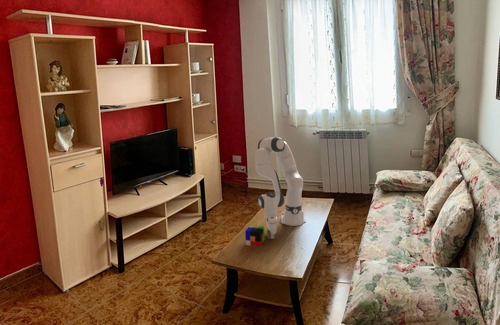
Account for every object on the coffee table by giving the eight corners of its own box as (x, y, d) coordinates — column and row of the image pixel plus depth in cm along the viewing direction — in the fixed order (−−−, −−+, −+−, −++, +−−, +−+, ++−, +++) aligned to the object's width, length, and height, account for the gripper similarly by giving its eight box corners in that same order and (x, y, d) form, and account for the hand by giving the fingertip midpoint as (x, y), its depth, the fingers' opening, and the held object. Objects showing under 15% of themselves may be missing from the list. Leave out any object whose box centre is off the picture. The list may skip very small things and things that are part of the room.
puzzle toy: (245, 244, 275) (245, 230, 273) (250, 238, 284) (250, 225, 282) (260, 246, 272) (259, 232, 270) (264, 240, 281) (264, 226, 279)
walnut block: (267, 236, 288) (267, 229, 287) (274, 235, 289) (274, 229, 288) (268, 239, 283) (268, 232, 282) (275, 238, 284) (275, 232, 283)
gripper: (264, 211, 292) (264, 229, 295) (268, 221, 273) (268, 241, 276) (273, 210, 293) (273, 229, 296) (278, 221, 273) (278, 240, 276)
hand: (271, 235), depth 286 cm, fingers open, 8 cm apart
